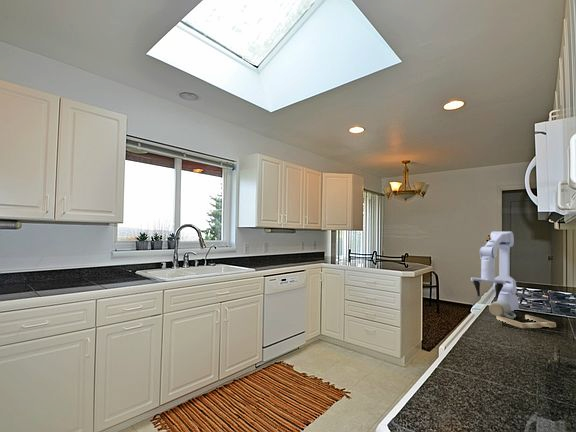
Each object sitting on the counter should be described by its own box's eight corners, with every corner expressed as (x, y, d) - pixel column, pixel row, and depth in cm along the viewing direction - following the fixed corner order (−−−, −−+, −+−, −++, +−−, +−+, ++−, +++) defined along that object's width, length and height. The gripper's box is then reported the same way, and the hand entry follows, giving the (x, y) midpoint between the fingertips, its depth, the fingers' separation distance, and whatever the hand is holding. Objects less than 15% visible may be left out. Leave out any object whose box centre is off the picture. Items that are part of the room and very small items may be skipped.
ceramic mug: (487, 315, 155) (487, 300, 156) (495, 313, 160) (494, 298, 160) (511, 320, 147) (511, 304, 147) (518, 318, 151) (518, 302, 151)
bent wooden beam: (527, 318, 150) (527, 314, 150) (556, 327, 136) (555, 322, 136) (496, 319, 147) (496, 315, 147) (522, 328, 133) (522, 323, 133)
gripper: (472, 268, 152) (471, 295, 150) (507, 271, 146) (507, 300, 144) (470, 268, 158) (470, 294, 156) (503, 271, 152) (503, 299, 150)
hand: (487, 297), depth 150 cm, fingers open, 7 cm apart
